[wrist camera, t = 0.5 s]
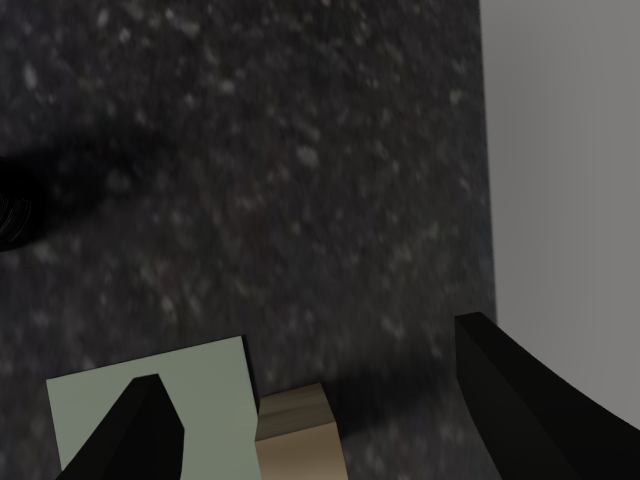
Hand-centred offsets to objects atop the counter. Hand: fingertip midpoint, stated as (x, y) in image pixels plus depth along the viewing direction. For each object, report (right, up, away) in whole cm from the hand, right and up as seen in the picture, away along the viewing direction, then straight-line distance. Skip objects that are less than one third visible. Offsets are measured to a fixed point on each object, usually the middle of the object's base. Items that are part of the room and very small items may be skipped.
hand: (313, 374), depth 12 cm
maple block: (-2, -10, +24) cm, 26 cm away
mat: (-11, -12, +23) cm, 28 cm away
